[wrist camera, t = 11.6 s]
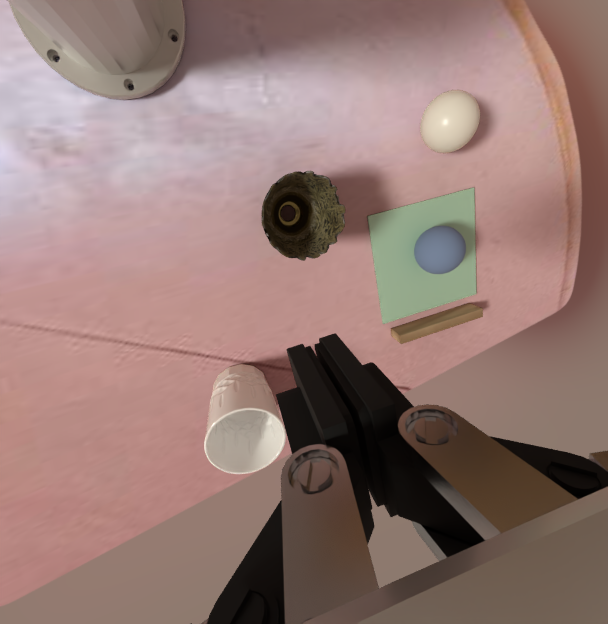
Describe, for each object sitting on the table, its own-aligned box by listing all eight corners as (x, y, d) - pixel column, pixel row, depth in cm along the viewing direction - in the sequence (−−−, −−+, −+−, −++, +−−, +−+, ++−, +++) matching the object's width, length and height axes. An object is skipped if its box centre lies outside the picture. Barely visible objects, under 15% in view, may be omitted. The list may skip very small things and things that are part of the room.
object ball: (437, 278, 35) (412, 281, 40) (482, 264, 36) (451, 268, 41) (424, 228, 34) (400, 237, 40) (470, 214, 35) (440, 225, 41)
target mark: (367, 216, 37) (368, 216, 37) (473, 187, 39) (474, 187, 39) (382, 323, 42) (383, 324, 42) (475, 293, 44) (476, 294, 44)
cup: (329, 232, 37) (356, 240, 29) (270, 258, 36) (283, 273, 29) (306, 165, 34) (329, 156, 27) (242, 192, 33) (247, 191, 26)
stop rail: (390, 328, 43) (400, 335, 41) (469, 302, 45) (482, 308, 42) (391, 336, 43) (401, 344, 41) (469, 310, 45) (482, 316, 43)
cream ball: (471, 148, 31) (422, 169, 35) (497, 126, 33) (448, 149, 38) (450, 88, 29) (401, 119, 33) (479, 69, 31) (429, 100, 36)
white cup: (278, 364, 41) (295, 412, 32) (262, 416, 43) (273, 476, 34) (216, 354, 38) (214, 403, 29) (202, 410, 40) (196, 472, 31)
